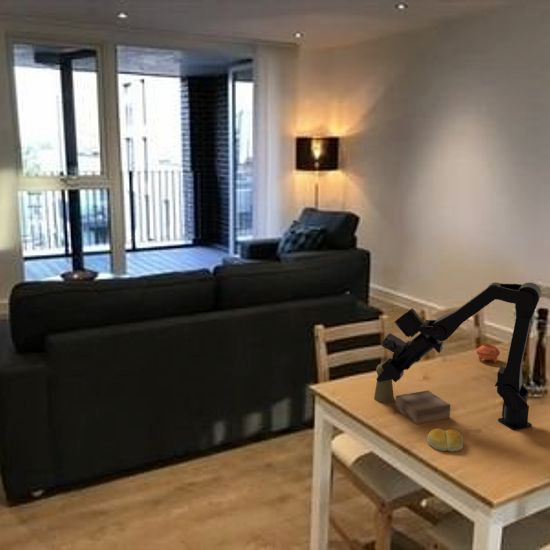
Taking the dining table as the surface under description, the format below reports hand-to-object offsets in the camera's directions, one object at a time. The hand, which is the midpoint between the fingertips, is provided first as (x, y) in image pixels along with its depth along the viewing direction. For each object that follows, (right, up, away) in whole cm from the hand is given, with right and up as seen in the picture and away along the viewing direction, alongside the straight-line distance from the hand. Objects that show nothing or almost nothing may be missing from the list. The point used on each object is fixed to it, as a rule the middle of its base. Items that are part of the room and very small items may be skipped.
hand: (380, 377), depth 182 cm
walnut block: (+10, -9, -10) cm, 17 cm away
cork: (+1, -7, +1) cm, 7 cm away
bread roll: (+12, -13, -28) cm, 33 cm away
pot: (+45, 0, +33) cm, 55 cm away
